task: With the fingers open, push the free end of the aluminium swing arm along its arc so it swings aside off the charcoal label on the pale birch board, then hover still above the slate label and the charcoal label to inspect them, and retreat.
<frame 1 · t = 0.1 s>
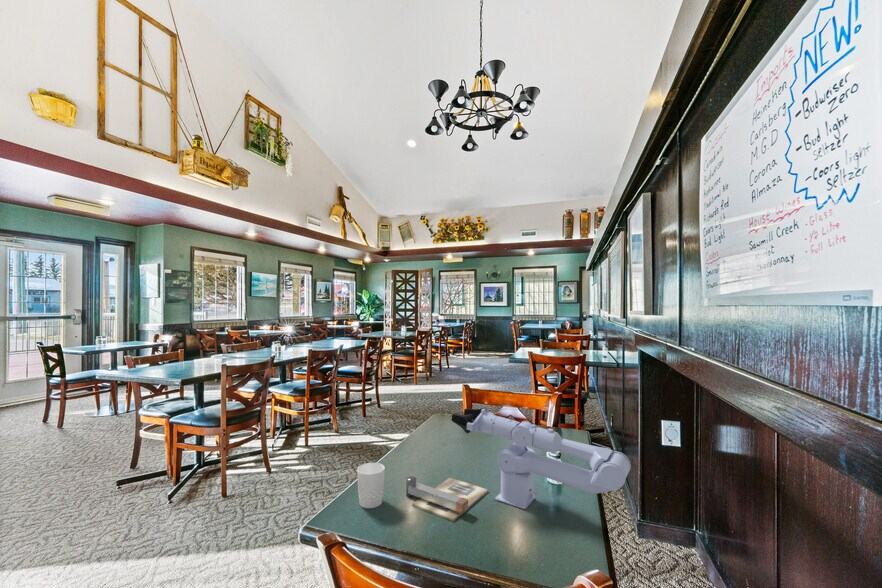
hand: (458, 414, 128), 22 cm above the table, tool horizontal, fingers open, 7 cm apart
label board: (451, 498, 117), on the table
cable arm: (434, 495, 114), point 3 cm above the table, hinge at 0.0°
white cup: (370, 503, 115), on the table
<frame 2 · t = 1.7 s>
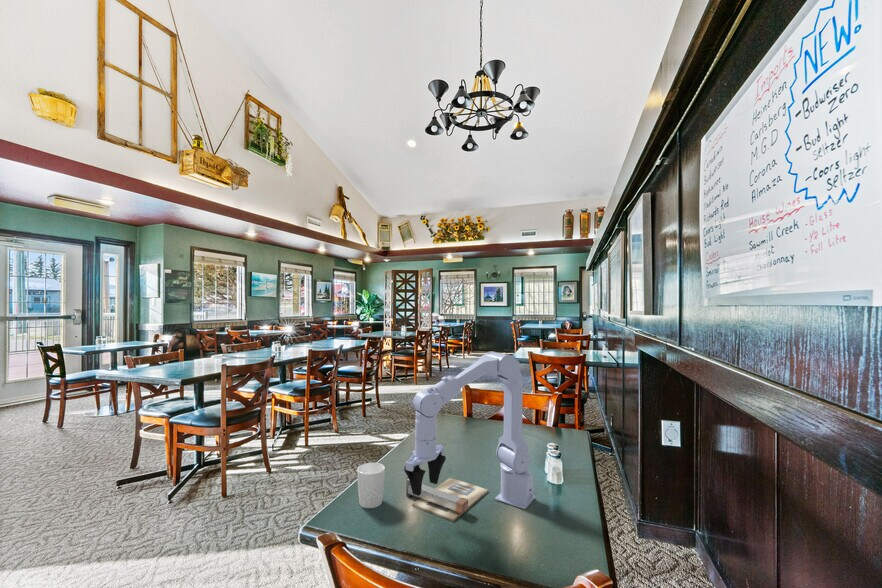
hand: (425, 488, 105), 9 cm above the table, tool pointing down, fingers open, 7 cm apart
nothing on the table moved.
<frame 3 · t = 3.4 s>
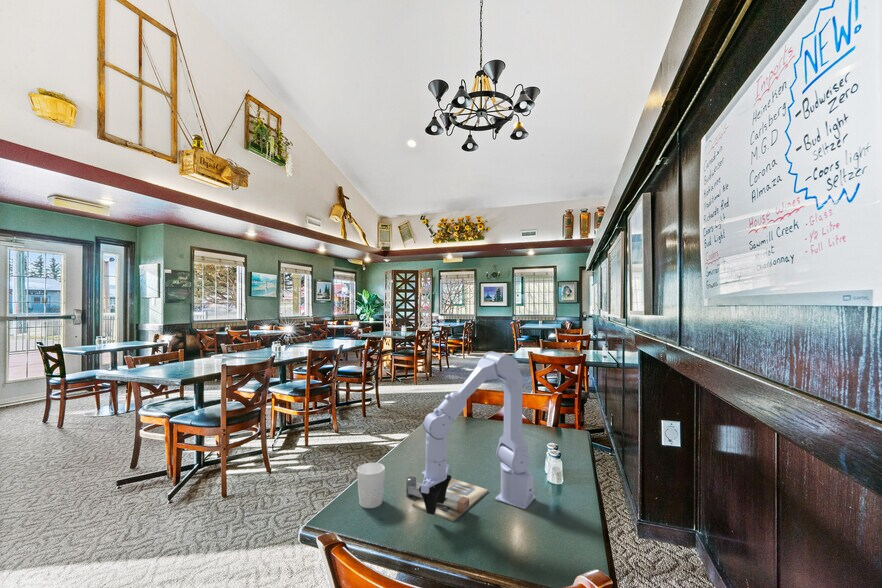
hand: (435, 507, 108), 2 cm above the table, tool pointing down, fingers open, 5 cm apart
cable arm: (435, 494, 114), point 3 cm above the table, hinge at 2.2°, touching gripper
everything else where it was.
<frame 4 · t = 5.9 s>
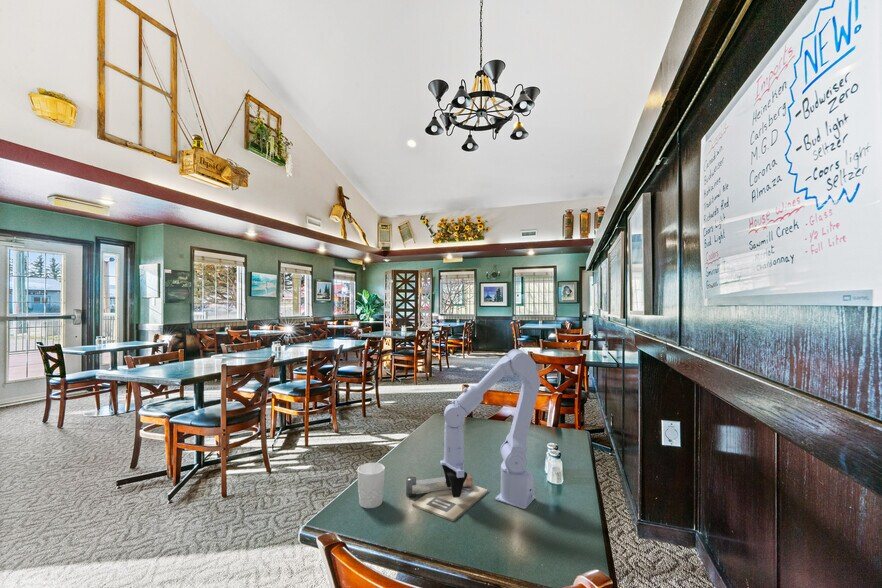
hand: (453, 491, 117), 2 cm above the table, tool pointing down, fingers open, 6 cm apart
cable arm: (439, 483, 121), point 3 cm above the table, hinge at 50.5°, touching gripper
everything else where it was.
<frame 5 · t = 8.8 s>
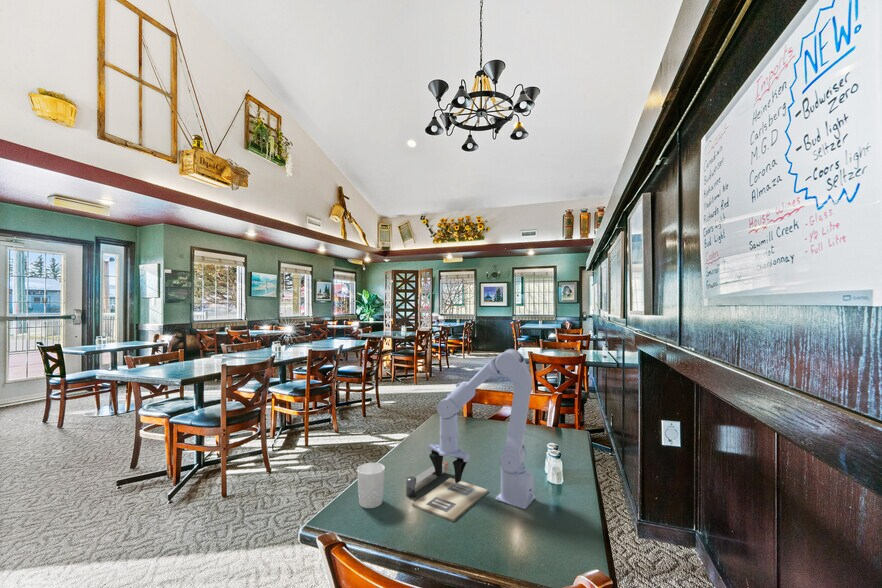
hand: (448, 478, 125), 2 cm above the table, tool pointing down, fingers open, 7 cm apart
cable arm: (427, 475, 126), point 3 cm above the table, hinge at 91.7°, touching gripper
everything else where it was.
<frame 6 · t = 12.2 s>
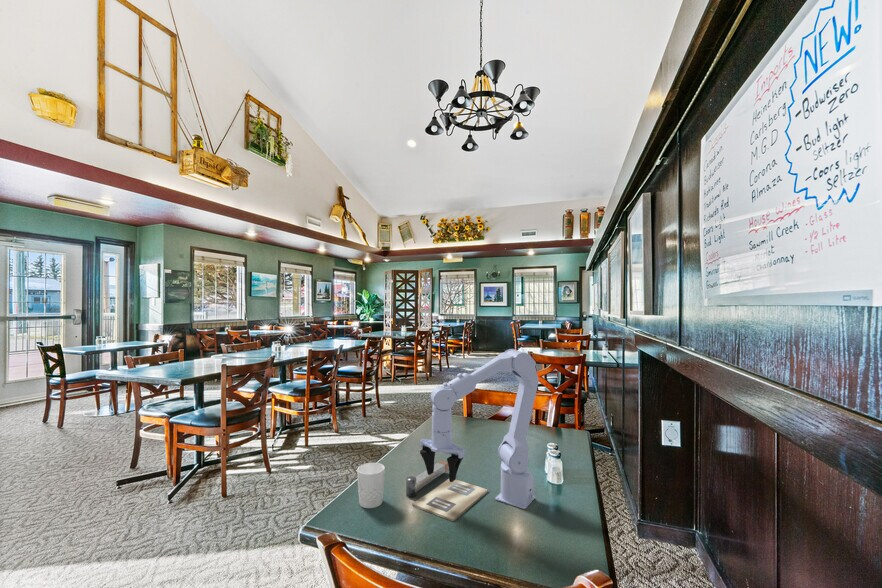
hand: (441, 477, 113), 8 cm above the table, tool pointing down, fingers open, 7 cm apart
cable arm: (427, 475, 126), point 3 cm above the table, hinge at 91.7°
everything else where it was.
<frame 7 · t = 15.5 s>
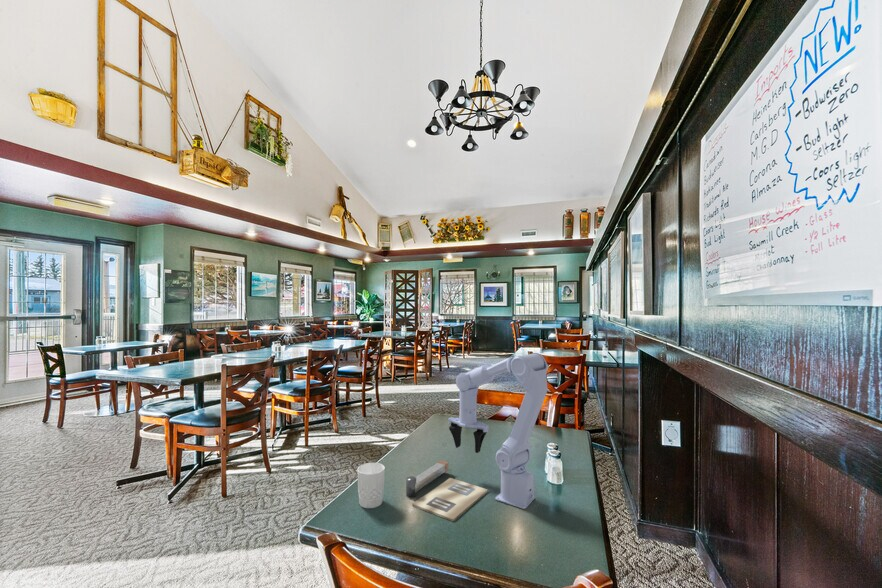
hand: (467, 449, 131), 9 cm above the table, tool pointing down, fingers open, 7 cm apart
nothing on the table moved.
at the end: cable arm at +92° (first picture: +0°); white cup moved 0.2 cm from its start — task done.
